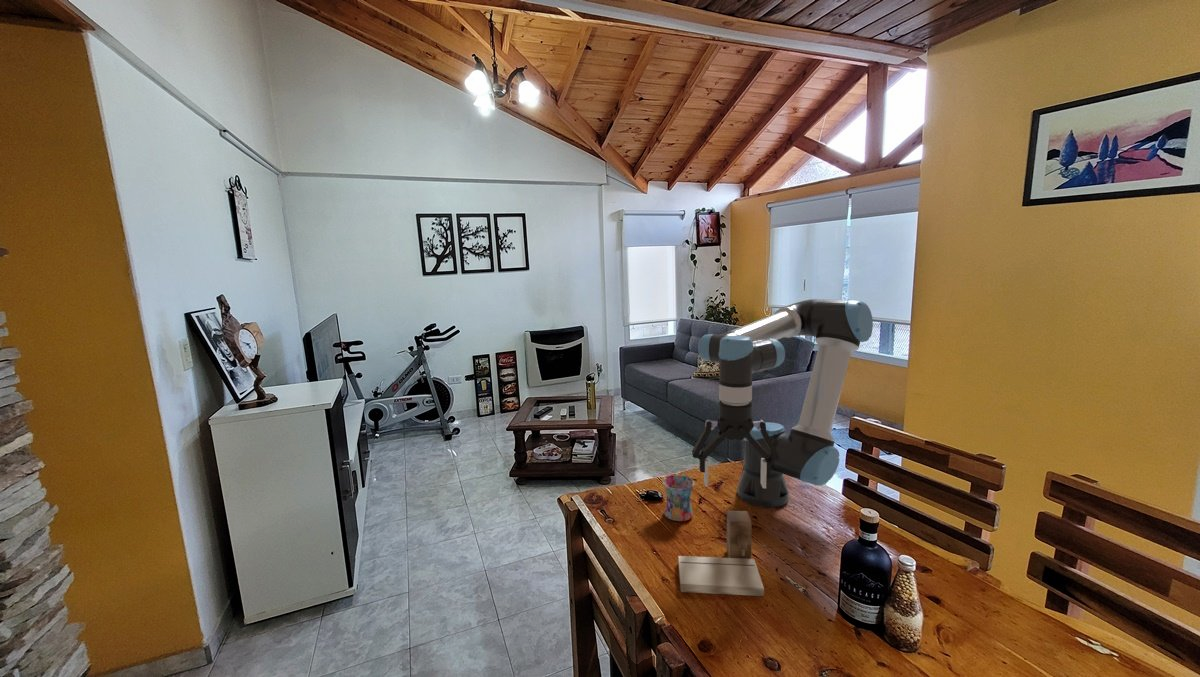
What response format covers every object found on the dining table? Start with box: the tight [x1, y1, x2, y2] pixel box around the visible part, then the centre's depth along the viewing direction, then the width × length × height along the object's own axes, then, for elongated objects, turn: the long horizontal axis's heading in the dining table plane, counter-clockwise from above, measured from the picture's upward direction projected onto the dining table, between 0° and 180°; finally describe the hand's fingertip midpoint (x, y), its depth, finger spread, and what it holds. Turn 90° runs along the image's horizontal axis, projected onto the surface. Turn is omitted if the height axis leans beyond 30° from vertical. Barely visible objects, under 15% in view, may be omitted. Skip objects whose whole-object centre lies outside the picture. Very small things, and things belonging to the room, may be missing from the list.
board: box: [677, 555, 765, 597], centre depth 105 cm, size 18×10×2 cm, turn 83°
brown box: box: [726, 510, 753, 559], centre depth 110 cm, size 5×9×11 cm, turn 173°
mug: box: [661, 474, 696, 522], centre depth 132 cm, size 12×9×11 cm
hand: (734, 485), depth 110 cm, fingers open, 13 cm apart
